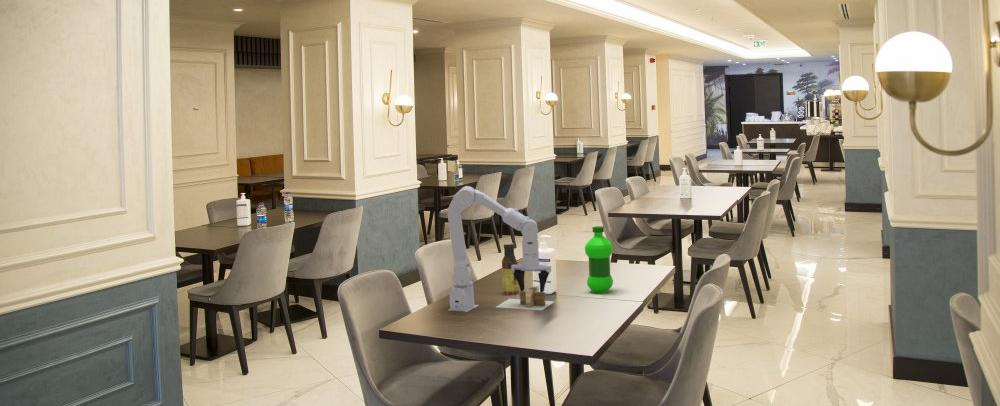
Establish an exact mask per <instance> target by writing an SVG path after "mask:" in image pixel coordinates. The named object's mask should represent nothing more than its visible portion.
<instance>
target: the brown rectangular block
mask: <svg viewBox="0 0 1000 406" xmlns="http://www.w3.org/2000/svg"><path fill="white" fill-rule="evenodd" d="M525 291H526V290H523V291H519V299H520V305H526V293H525ZM545 301H546V292H544V291H543V292H540V291H539V292H536V293H535V295H534V296H533V304H534V305H535V306H545Z"/></svg>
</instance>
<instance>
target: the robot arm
mask: <svg viewBox="0 0 1000 406" xmlns="http://www.w3.org/2000/svg"><path fill="white" fill-rule="evenodd" d="M472 204H473V205H474V206H484V207H485V208H487V209H489V210H491V211H492V212H494V213H496V214H497V215H499V216H500V217H501V220H502V221H503V223H505V224H507V225H508V226H510V227H512V228H513V229H514V230H516V231H519V232H520V233H521V234H522V241H521V243H522V244H521V246H522V247H521V249H522V264H518V265H512V271H514V273H513V274H514V276H515V278H516V279H517V281H518V284H519V292H521V291H525V272H538V274H537V276H538V278H539V280H538V281H539V292H544V291H545V287H546V282H547V280H548V277H549V275H550V273H551V272H552V266H551V265H543V264H540V260H539V259H540V256H539V240H538V238H539V237H538V232H539V229H538V223H537V222H536V221H535V220H534V219H532V218H530V217H529V216H528V215H526V216H525V215H524V214H522V213H521V212H520V211H519V209H518V208H516V207H515V208H513V207H508V208H507V207H505V206H504V205H502V204H500V203H499V202H498V201H496V200H494V199H493V198H492V197H490V196H488V195H487V194H486V193H484V192H482V191H481V190H478V189H475V188H474V187H472V186H470V185H465V186H463V187H461V188H460V189H459V190H458V191H457V192H456V193H455V194H454V195H453V197H452V200H451V202H450V204H449V206H448V208H447V211H446V215H447V219H448V229H449V234H450V240H451V241H450V242H451V247H452V248H451V249H452V254H453V255H452V256H453V270H454V271H453V273H452V280H453V283H452V285H453V286H452V289H451V290H450V292H449V309H448V311H452V312H467V313H468V312H469V311H472V310H473V309H475V308H477V307H479V304H475V297H474V296H475V295H474V292H475V291H474V282H473V280H472V279H471V278H472V276H473V269H472V267H471V266H470V263H469V259H468V256H467V247H466V242H465V241H466V240H465V235H464V227H463V219H462V213H463V212H464V210H465V209H466V208H468V207H470V205H472Z"/></svg>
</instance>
